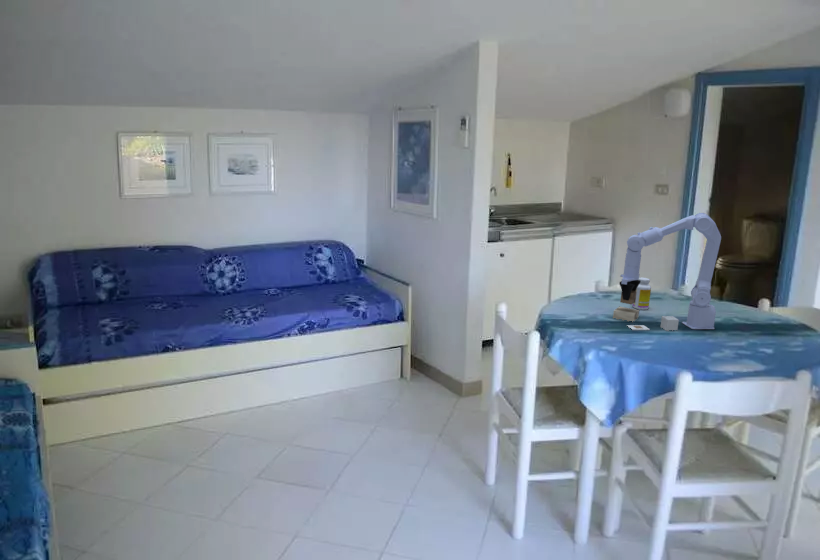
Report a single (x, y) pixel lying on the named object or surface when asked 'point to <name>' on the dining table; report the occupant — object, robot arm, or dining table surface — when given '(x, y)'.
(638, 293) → the supplement bottle
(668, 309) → the dining table surface
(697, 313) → the robot arm
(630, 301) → the walnut block
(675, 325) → the grey block
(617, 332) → the dining table surface
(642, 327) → the card
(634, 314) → the birch base block
